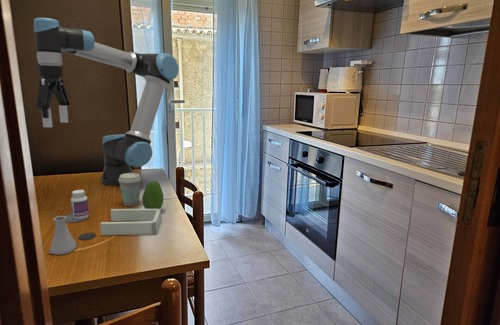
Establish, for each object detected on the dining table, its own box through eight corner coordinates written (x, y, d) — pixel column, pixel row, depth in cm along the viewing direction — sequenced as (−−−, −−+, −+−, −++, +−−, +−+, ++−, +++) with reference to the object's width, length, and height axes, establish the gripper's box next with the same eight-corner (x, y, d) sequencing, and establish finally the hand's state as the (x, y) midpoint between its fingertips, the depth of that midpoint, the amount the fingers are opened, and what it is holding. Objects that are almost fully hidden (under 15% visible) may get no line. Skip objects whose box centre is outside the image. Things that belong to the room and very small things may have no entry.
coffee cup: (135, 208, 129) (133, 179, 126) (115, 206, 131) (113, 177, 128) (146, 201, 137) (144, 173, 134) (127, 199, 139) (125, 171, 136)
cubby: (112, 219, 118) (111, 209, 118) (161, 218, 121) (161, 208, 120) (101, 235, 107) (100, 223, 106) (155, 234, 109) (155, 222, 108)
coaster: (68, 213, 122) (68, 212, 122) (91, 213, 123) (91, 212, 123) (59, 222, 114) (59, 221, 114) (83, 222, 115) (83, 221, 115)
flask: (56, 243, 100) (52, 212, 98) (81, 243, 101) (78, 213, 99) (43, 255, 93) (39, 223, 91) (70, 255, 94) (67, 223, 92)
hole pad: (82, 233, 107) (81, 232, 107) (98, 232, 108) (98, 232, 108) (75, 240, 103) (75, 240, 103) (92, 240, 103) (92, 239, 103)
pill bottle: (92, 215, 120) (90, 190, 118) (80, 220, 116) (78, 194, 113) (80, 213, 122) (78, 188, 120) (68, 218, 117) (66, 192, 115)
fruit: (138, 210, 127) (136, 181, 124) (156, 205, 133) (155, 177, 130) (149, 216, 122) (148, 185, 119) (167, 211, 128) (167, 181, 125)
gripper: (55, 66, 129) (60, 120, 134) (19, 63, 105) (27, 129, 110) (75, 67, 130) (80, 120, 135) (44, 64, 106) (51, 129, 111)
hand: (56, 124), depth 123 cm, fingers open, 13 cm apart
